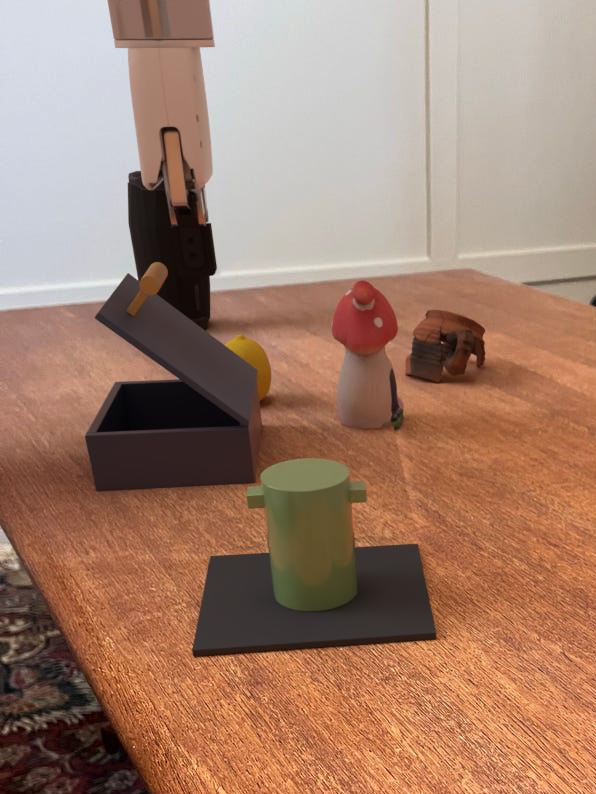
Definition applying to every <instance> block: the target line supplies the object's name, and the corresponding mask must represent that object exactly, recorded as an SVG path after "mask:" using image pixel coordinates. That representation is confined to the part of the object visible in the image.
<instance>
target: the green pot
mask: <svg viewBox="0 0 596 794" xmlns="http://www.w3.org/2000/svg"><path fill="white" fill-rule="evenodd" d="M259 480H260V485H256V486H247V488H246V495H245V499H246V506H247V509H249V510H250V509H251V510H252V509H263V515H264V522H265V531H266V539H267V548H268V553H269V558H270V566H271V575H272V583H273V592H274V597H275V599H276V601H277V602H278V603H279V604H281V605H282V606H284V607H286V608H289V609H293V610H298V611H310V612H311V611H323V610H329V609H333V608H336V607H339V606H342V605H344V604H346V603H348V602H349V601H351V600H352V599H353V598H354V597H355V596H356V594H357V591H358V581H357V567H356V552H355V547H356V540H355V526H354V525H355V524H354V511H353V509H354V508H353V504H358V503H360V504H361V503H367V502H368V498H367V496H368V495H367V486H366V485H367V484H366V481H365V480H351V471H350V469H349V467H348V466H346V465H345V464H343V463H342V462H340V461H336V460H333V459H329V458H320V457H319V458H318V457H304V458H295V459H289V460H285V461H280V462H277V463H275V464H272V465H270V466H268V467H267V468H265V469H264V470H262V471H261V474H260V476H259Z"/></svg>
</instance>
